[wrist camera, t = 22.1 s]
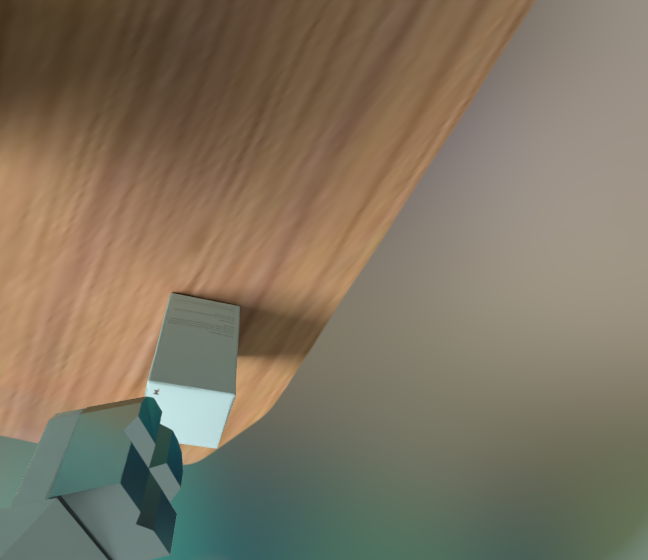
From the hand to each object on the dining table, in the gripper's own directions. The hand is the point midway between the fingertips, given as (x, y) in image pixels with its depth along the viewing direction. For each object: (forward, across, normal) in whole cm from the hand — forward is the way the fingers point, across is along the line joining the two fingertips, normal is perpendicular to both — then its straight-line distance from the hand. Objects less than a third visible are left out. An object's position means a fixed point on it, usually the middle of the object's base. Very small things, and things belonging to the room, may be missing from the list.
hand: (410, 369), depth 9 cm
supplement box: (+39, +17, +27) cm, 51 cm away
